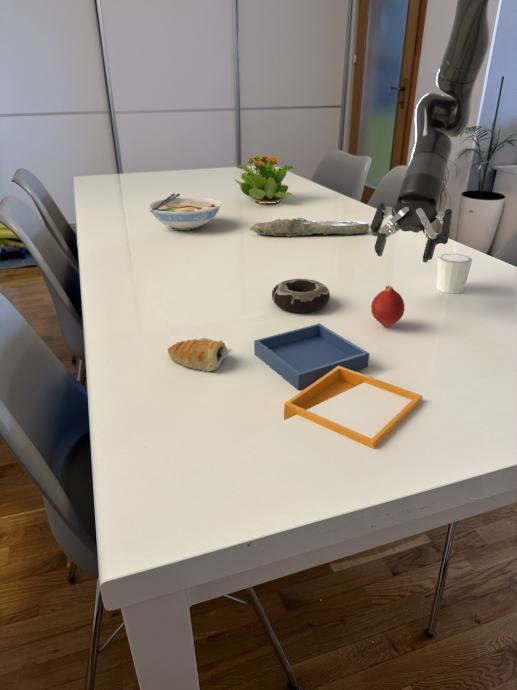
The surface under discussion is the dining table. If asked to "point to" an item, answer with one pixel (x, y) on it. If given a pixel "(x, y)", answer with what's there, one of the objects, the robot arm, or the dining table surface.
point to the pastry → (199, 353)
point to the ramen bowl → (185, 211)
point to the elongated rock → (309, 227)
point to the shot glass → (452, 272)
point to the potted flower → (264, 180)
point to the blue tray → (309, 354)
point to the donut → (300, 295)
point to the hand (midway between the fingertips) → (401, 257)
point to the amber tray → (335, 385)
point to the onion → (387, 307)
